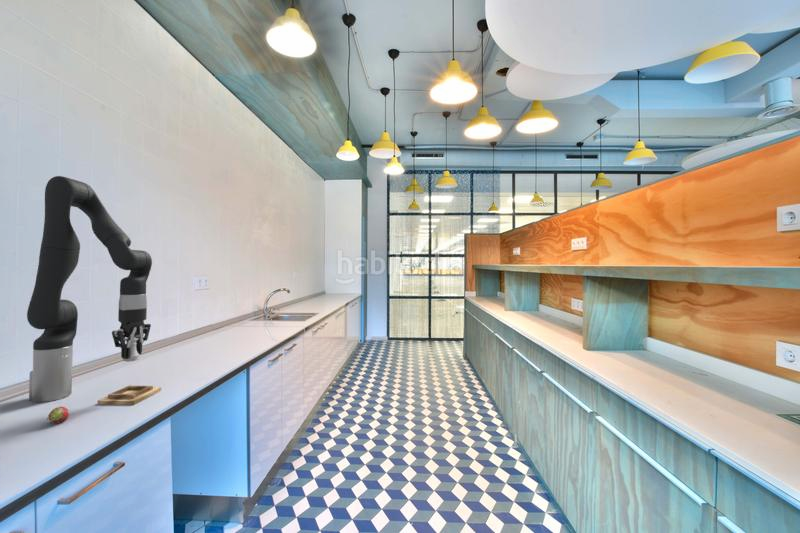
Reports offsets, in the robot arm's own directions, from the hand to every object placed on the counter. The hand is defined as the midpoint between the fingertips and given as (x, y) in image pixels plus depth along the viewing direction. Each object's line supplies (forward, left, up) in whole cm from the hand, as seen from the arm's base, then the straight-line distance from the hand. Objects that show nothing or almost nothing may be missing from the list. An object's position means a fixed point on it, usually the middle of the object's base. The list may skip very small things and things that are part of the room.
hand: (131, 356), depth 111 cm
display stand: (0, 0, -14) cm, 14 cm away
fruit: (-6, -18, -14) cm, 24 cm away
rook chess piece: (0, 0, -2) cm, 2 cm away
